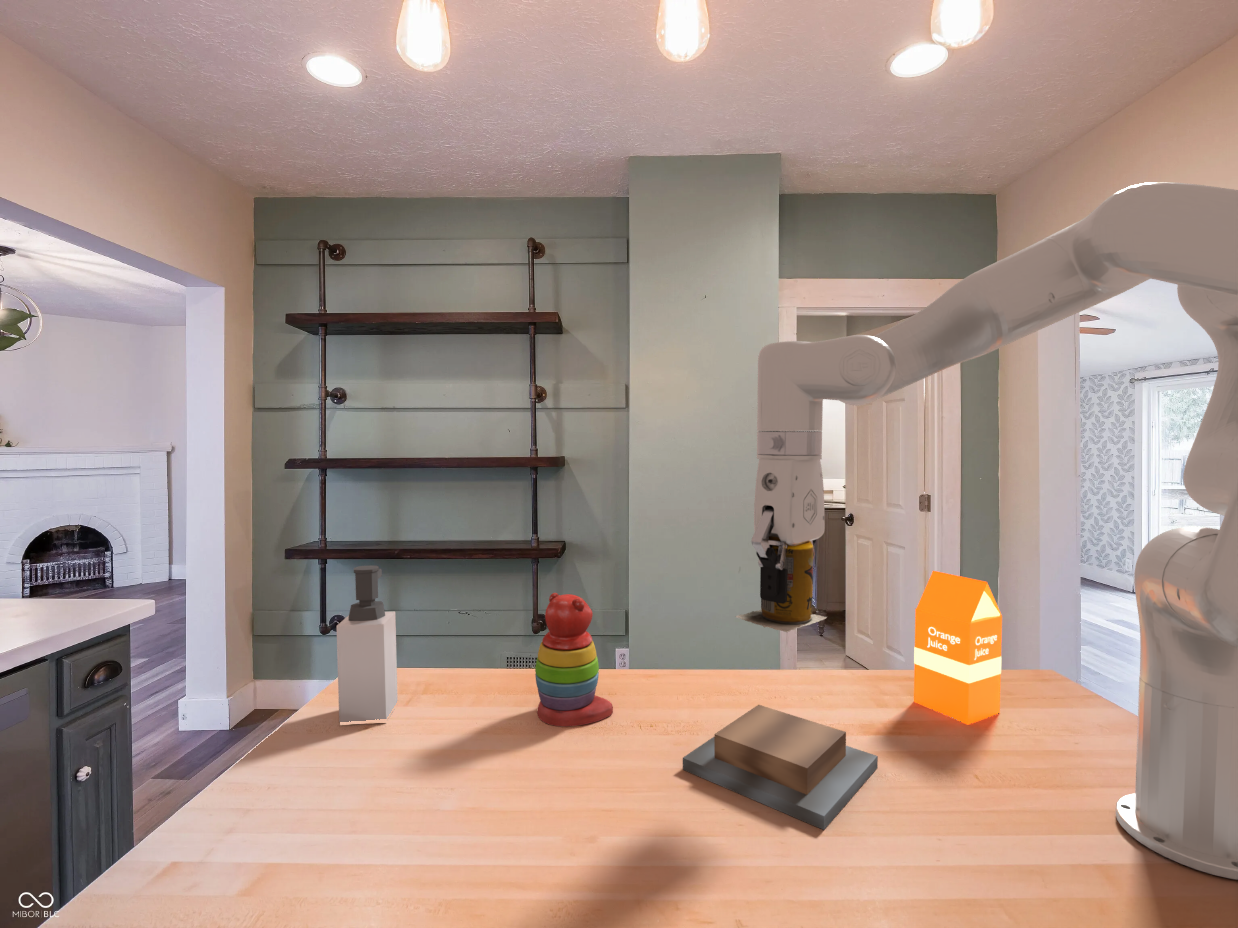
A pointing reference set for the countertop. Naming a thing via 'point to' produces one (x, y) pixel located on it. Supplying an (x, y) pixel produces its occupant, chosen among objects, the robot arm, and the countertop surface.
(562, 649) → the stacking bear
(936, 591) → the orange juice
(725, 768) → the plinth
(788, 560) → the condiment
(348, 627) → the soap dispenser
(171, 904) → the countertop surface
